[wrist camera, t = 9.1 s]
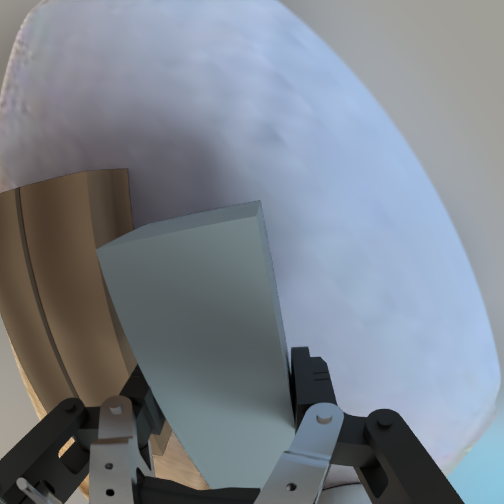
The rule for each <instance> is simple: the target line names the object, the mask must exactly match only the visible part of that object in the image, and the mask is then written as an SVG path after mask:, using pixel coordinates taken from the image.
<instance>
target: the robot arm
mask: <svg viewBox="0 0 504 504" xmlns="http://www.w3.org/2000/svg"><path fill="white" fill-rule="evenodd" d="M291 383H292V395H293V407H294V420H295V437H294V439H293V441H292V443H291V445H290V447H289V449H288V451H284V452H283V453H282V455H281V456H280V458H279V460H278V462H277V464H276V465H275V467H274V469H273V471H272V473H271V475H270V476H269V478H268V480H267V482H266V483H265V485H264V487H263V489H262V490H261V489H260V488H240V487H227V488H219V489H211V490H196V489H193V488H190V487H187V486H185V485H182V484H179V483H177V482H174V481H171V480H166V479H160V478H156V475H155V470H154V463H153V456H152V449H151V443H150V441H149V438H150V435H151V434H155V435H160V434H161V431H162V429H163V426H164V423H165V421H166V417H165V416H164V414H163V412H162V410H161V408H160V407H159V405H158V403H157V401H156V399H155V397H154V395H153V393H152V390H151V387H149V385H148V383H147V381H146V379H145V377H144V375H143V373H142V371H141V369H140V367H139V365H138V364H137V365H136V367H135V369H134V371H133V372H132V374H131V377H129V378H128V380H127V382H126V384H125V385H124V387H123V389H122V390H121V392H120V394H119V395H116V396H112V397H109V398H107V399H106V400H105V401H104V402H103V403H102V405H101V406H96V407H85V405H84V403H83V401H82V400H80V399H79V398H74V397H72V398H67V399H65V400H63V401H61V402H60V403H59V404H58V405H57V406H56V407H55V408H54V409H53V410H52V411H51V412H50V413H48V414H47V415H46V416H45V417H44V418H43V419H42V420H41V421H40V422H39V423H38V424H37V425H36V426H35V427H34V428H33V429H32V430H31V431H30V432H29V433H28V434H27V435H25V437H23V438H22V439H21V440H20V441H19V442H18V443H17V444H16V445H15V446H14V447H13V448H12V449H11V450H10V451H9V452H8V453H7V454H6V455H5V456H4V457H3V458H2V459H1V460H0V504H64V503H65V502H66V501H67V500H68V498H69V497H70V496H71V495H72V494H73V492H74V491H75V490H76V489H77V487H78V486H79V485H80V484H81V482H82V481H83V480H84V479H85V477H86V476H87V475H88V474H89V504H464V502H463V501H462V499H461V498H460V496H459V495H458V494H457V493H456V491H455V490H454V488H453V487H452V485H451V484H450V482H449V481H448V480H447V479H446V477H445V475H444V474H443V473H442V471H441V470H440V469H439V467H438V466H437V464H436V463H435V462H434V460H433V459H432V458H431V456H430V455H429V453H428V452H427V451H426V449H425V448H424V447H423V445H422V444H421V443H420V441H419V440H418V439H417V437H416V436H415V434H414V433H413V432H412V430H411V429H410V428H409V426H408V425H407V424H406V422H405V421H404V420H403V418H402V417H401V416H400V415H399V414H398V413H397V412H395V411H393V410H390V409H378V410H375V411H373V412H372V413H370V414H369V415H368V417H358V416H352V415H348V414H346V413H344V412H343V411H342V409H341V408H340V407H338V405H337V402H336V398H335V394H334V390H333V386H332V382H331V379H330V374H329V370H328V366H327V363H326V362H325V361H324V360H323V359H322V358H321V357H310V354H309V349H308V346H307V347H291ZM71 437H73V439H74V440H75V442H74V443H73V444H72V445H71V446H70V447H69V448H68V450H67V451H66V452H65V453H64V454H63V455H62V456H61V457H60V458H59V456H58V453H59V450H60V449H61V448H62V447H63V446H64V445H65V443H66V442H67V441H68V440H69V439H70V438H71ZM332 464H336V465H344V466H353V467H354V469H355V471H356V473H357V475H358V477H359V479H360V481H361V483H362V484H355V485H346V486H340V487H335V488H331V489H327V490H324V491H322V489H323V486H324V483H325V481H326V478H327V476H328V473H329V470H330V467H331V465H332Z"/></svg>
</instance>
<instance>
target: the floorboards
mask: <svg viewBox="0 0 504 504" xmlns="http://www.w3.org/2000/svg"><path fill="white" fill-rule="evenodd" d="M133 230H134V229H133V221H132V213H131V203H130V193H129V182H128V168H124V169H105V170H90V171H83V172H78V173H74V174H69V175H65V176H61V177H57V178H53V179H49V180H45V181H41V182H37V183H33V184H30V185H26V186H23V187H19V188H16V189H13V190H9V191H6V192H3V193H0V313H1V316H2V319H3V322H4V325H5V327H6V330H7V333H8V335H9V338H10V340H11V343H12V345H13V347H14V350H15V352H16V354H17V356H18V359H19V361H20V363H21V365H22V367H23V369H24V371H25V374H26V376H27V378H28V380H29V381H30V383H31V385H32V387H33V389H34V391H35V393H36V395H37V396H38V398H39V400H40V402H41V403H42V405H43V407H44V409H45V410H46V412H47V414H48V413H50V412H51V411H52V410H53V409H54V408H55V407H56V406H57V405H58V404H59V403H60V402H61V401H63V400H65V399H67V398H72V397H74V398H79V399H80V400H82V401H83V403H84V405H85V407H96V406H101V405H102V403H103V402H104V401H105V400H106V399H107V398H109V397H112V396H116V395H119V394H120V392H121V390H122V389H123V387H124V385H125V384H126V382H127V380H128V378H129V377H131V374H132V372H133V371H134V369H135V367H136V365H137V364H138V362H137V360H136V358H135V356H134V354H133V351H132V349H131V347H130V344H129V342H128V340H127V337H126V335H125V333H124V330H123V328H122V325H121V323H120V320H119V318H118V315H117V312H116V310H115V307H114V304H113V302H112V299H111V296H110V293H109V290H108V287H107V285H106V282H105V279H104V276H103V272H102V269H101V266H100V263H99V260H98V256H97V253H96V249H98V248H100V247H102V246H104V245H105V244H107V243H109V242H111V241H113V240H115V239H117V238H119V237H121V236H123V235H125V234H127V233H129V232H131V231H133ZM171 432H172V428H171V426H170V425H169V423H168V421H167V419H166V421H165V423H164V426H163V429H162V431H161V434H160V435H155V434H151V435H150V438H149V441H150V443H151V449H152V454H154V455H160V456H163V454H164V451H165V449H166V446H167V443H168V440H169V437H170V434H171Z"/></svg>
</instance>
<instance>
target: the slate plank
mask: <svg viewBox="0 0 504 504" xmlns="http://www.w3.org/2000/svg"><path fill="white" fill-rule="evenodd" d="M96 253H97V256H98V260H99V263H100V266H101V269H102V272H103V276H104V279H105V282H106V285H107V287H108V290H109V293H110V296H111V299H112V302H113V304H114V307H115V310H116V312H117V315H118V318H119V320H120V323H121V325H122V328H123V330H124V333H125V335H126V337H127V340H128V342H129V344H130V347H131V349H132V351H133V354H134V356H135V358H136V360H137V362H138V365H139V367H140V369H141V371H142V373H143V375H144V377H145V379H146V381H147V383H148V385H149V387H151V390H152V393H153V395H154V397H155V399H156V401H157V403H158V405H159V407H160V408H161V410H162V412H163V414H164V416H165V417H166V419H167V421H168V423H169V425H170V426H171V428H172V430H173V431H174V433H175V435H176V436H177V438H178V440H179V441H180V443H181V445H182V446H183V448H184V449H185V451H186V453H187V454H188V456H189V457H190V459H191V460H192V462H193V463H194V465H195V466H196V468H197V469H198V471H199V472H200V474H201V475H202V477H203V478H204V479H205V481H206V482H207V484H208V485H209V486H210V488H211V489H219V488H227V487H240V488H260V489H261V490H262V489H263V487H264V485H265V483H266V482H267V480H268V478H269V476H270V475H271V473H272V471H273V469H274V467H275V465H276V464H277V462H278V460H279V458H280V456H281V455H282V453H283V452H284V451H288V449H289V447H290V445H291V443H292V441H293V439H294V437H295V420H294V407H293V395H292V383H291V367H290V361H289V355H288V350H287V344H286V338H285V332H284V326H283V321H282V315H281V309H280V304H279V298H278V292H277V287H276V281H275V276H274V270H273V265H272V259H271V254H270V249H269V243H268V238H267V233H266V227H265V222H264V217H263V212H262V207H261V201H260V200H259V201H254V202H248V203H243V204H238V205H233V206H228V207H223V208H218V209H213V210H208V211H203V212H199V213H194V214H189V215H185V216H180V217H176V218H171V219H167V220H163V221H158V222H154V223H150V224H145V225H143V226H141V227H139V228H137V229H135V230H133V231H131V232H129V233H127V234H125V235H123V236H121V237H119V238H117V239H115V240H113V241H111V242H109V243H107V244H105V245H104V246H102V247H100V248H98V249H96Z"/></svg>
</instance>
